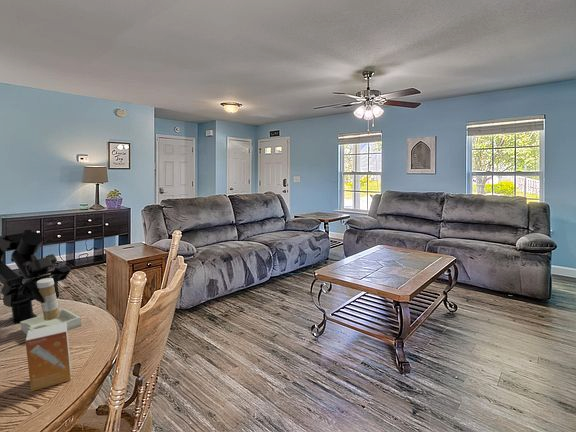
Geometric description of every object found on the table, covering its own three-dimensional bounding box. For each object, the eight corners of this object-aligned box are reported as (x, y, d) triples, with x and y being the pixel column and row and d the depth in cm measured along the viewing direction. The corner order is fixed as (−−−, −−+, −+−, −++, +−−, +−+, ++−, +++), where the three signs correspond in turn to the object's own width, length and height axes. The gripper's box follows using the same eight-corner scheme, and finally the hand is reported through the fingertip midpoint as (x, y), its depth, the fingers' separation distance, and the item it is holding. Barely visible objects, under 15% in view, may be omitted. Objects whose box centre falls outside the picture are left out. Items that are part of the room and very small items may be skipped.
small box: (30, 392, 78) (24, 340, 76) (33, 379, 83) (27, 329, 81) (71, 380, 82) (66, 331, 81) (71, 368, 88) (66, 321, 86)
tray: (21, 330, 109) (20, 321, 109) (65, 316, 120) (64, 308, 119) (35, 341, 102) (34, 332, 101) (81, 325, 112) (80, 317, 112)
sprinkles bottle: (42, 318, 111) (34, 280, 108) (58, 313, 114) (50, 276, 111) (46, 322, 108) (38, 283, 105) (62, 317, 111) (55, 279, 109)
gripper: (1, 255, 101) (26, 295, 97) (65, 242, 117) (88, 277, 114) (-9, 276, 105) (14, 316, 102) (53, 261, 122) (75, 295, 119)
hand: (50, 299), depth 109 cm, fingers closed on sprinkles bottle, 4 cm apart
